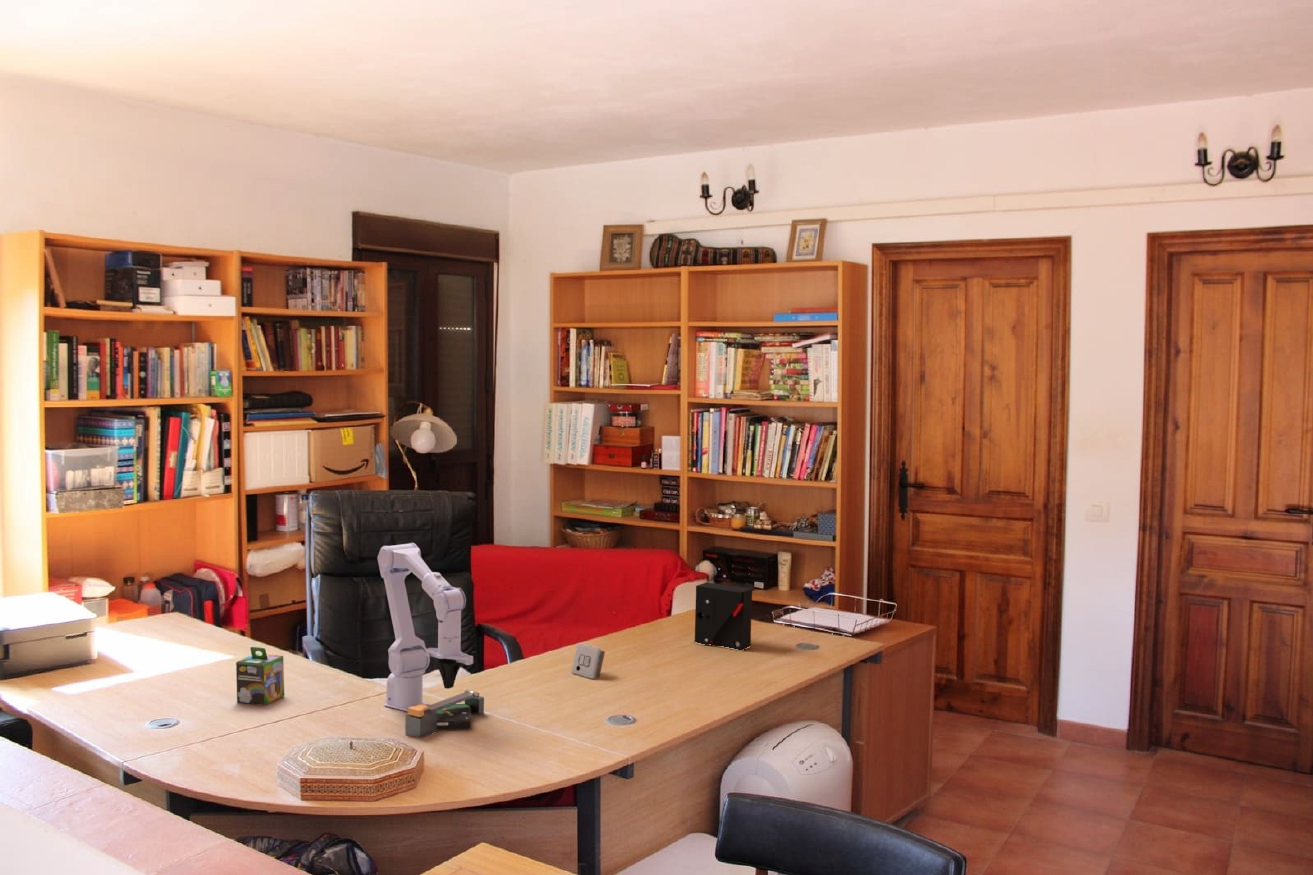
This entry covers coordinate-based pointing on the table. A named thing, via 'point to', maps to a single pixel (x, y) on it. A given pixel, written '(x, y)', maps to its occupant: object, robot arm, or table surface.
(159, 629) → the table surface
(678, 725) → the table surface
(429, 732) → the shiny metal block
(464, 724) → the disk drive
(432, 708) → the grey flat bar
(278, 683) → the chalk box
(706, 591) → the electrical component
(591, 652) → the electrical switch
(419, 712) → the orange stepped block
